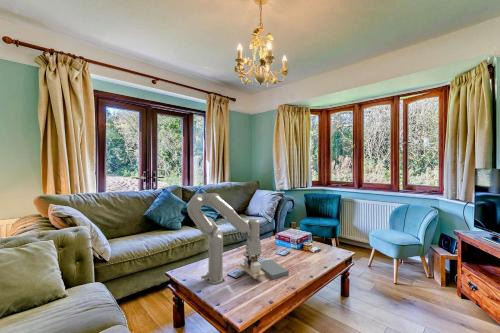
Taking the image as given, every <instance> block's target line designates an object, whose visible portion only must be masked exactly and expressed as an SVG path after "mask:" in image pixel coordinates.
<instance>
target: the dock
mask: <svg viewBox="0 0 500 333" xmlns="http://www.w3.org/2000/svg"><path fill="white" fill-rule="evenodd" d="M258 263H260V264H261V271H263V272H264V273H265V276H266V277H268V278H270V279H271V280H275V279H278V278H282V277H286V276H287V277H290V275H289V272H290V270H288V269H287V268H286V267H283V266H282V265H280V264H279V263H278V262H276V261H274V260H273V259H271V258H270V259H266V260H262V261H258Z"/></svg>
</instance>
